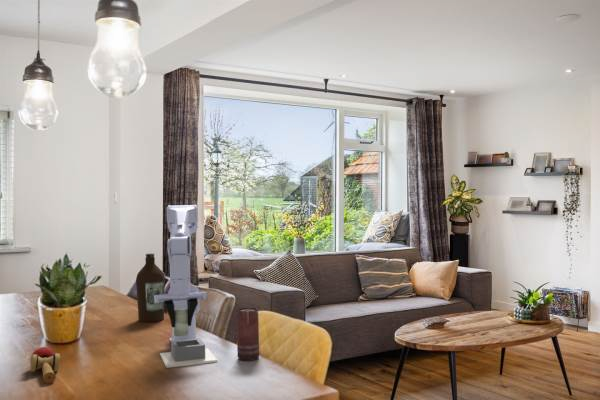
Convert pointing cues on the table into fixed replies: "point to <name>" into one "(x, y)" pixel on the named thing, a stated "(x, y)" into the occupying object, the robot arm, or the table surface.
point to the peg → (181, 322)
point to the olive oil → (150, 291)
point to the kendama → (45, 363)
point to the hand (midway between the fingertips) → (181, 325)
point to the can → (247, 334)
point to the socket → (187, 353)
